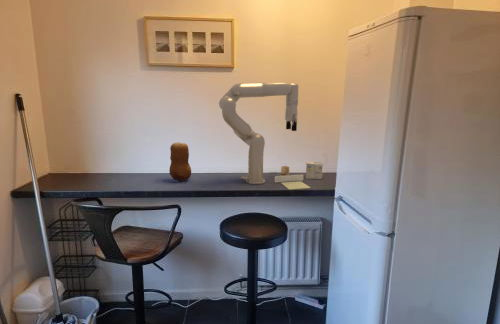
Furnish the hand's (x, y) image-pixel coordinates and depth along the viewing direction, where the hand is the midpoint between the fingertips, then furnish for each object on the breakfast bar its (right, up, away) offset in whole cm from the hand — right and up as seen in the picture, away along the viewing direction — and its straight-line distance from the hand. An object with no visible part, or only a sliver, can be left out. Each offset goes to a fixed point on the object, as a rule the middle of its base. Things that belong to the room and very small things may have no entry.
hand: (291, 130), depth 202 cm
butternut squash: (-72, -33, +1) cm, 80 cm away
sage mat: (+2, -36, -8) cm, 37 cm away
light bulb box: (+17, -32, +12) cm, 38 cm away
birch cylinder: (-3, -32, +9) cm, 34 cm away
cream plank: (-1, -34, +2) cm, 34 cm away
